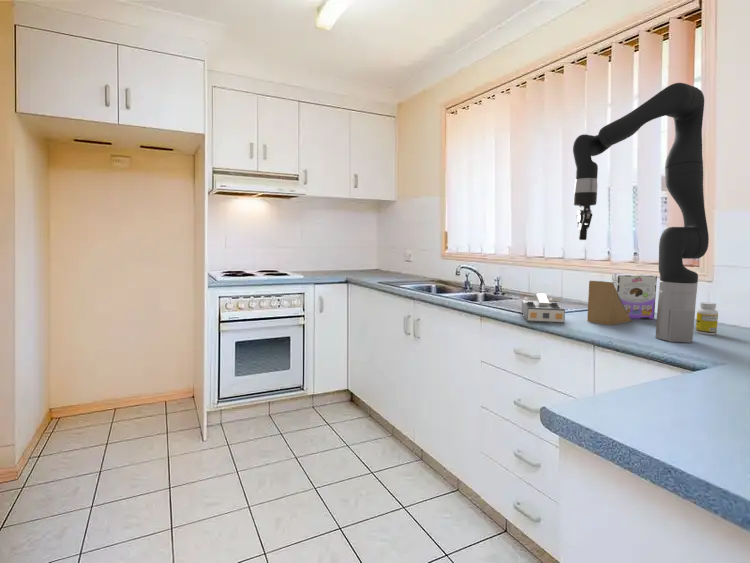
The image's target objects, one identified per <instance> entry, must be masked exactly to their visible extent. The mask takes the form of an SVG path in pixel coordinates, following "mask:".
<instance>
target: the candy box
mask: <svg viewBox="0 0 750 563" xmlns="http://www.w3.org/2000/svg"><path fill="white" fill-rule="evenodd" d="M657 278H658V275H654V274H646V273H645V274H642V273H641V274H639V273H612V275H611V282H613V283H614V286H615V288H616V291H617V293H618V295H619V297H620V299H621V301H622V303H623V305H624V307H625V309H626V311H627V313H628V315H629V317H630V319H631V320H632V319H633V320H634V319H636V320H638V319H640V320H641V319H642V320H654V319H655V313H656V312H655V311H656V297H657V296H656V294H657V281H658V280H657Z"/></svg>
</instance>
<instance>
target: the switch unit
mask: <svg viewBox="0 0 750 563" xmlns="http://www.w3.org/2000/svg"><path fill="white" fill-rule="evenodd" d="M520 309H521V312H522V313H523V314H524V316H523V318H524V317H525V318H524V319H525V321H526V322H531V323H546V322H552V323H551V324H565V316H566V308H565V307H563V306H562V305H560V304H559V302H549V306H539V303H538V300H537V301H527V300H521V308H520ZM521 312H520V313H521ZM522 313H521V314H522Z"/></svg>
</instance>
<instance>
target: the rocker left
mask: <svg viewBox="0 0 750 563" xmlns="http://www.w3.org/2000/svg"><path fill="white" fill-rule="evenodd" d="M523 298H524V301H538V300H537V297H535V296H534V297H531V296H530V297H529V296H527V297H526V296H525V297H523Z"/></svg>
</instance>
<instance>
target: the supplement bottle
mask: <svg viewBox="0 0 750 563" xmlns="http://www.w3.org/2000/svg"><path fill="white" fill-rule="evenodd" d="M699 306H700V308H699V309H697V311H696V321H695V332H696V333H697V334H700V335H708V336H714V335H715V336H716V335H717V332H718V321H719V312H718V310H716V308H717V303H715V302H710V301H701V302H700V303H699Z"/></svg>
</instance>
